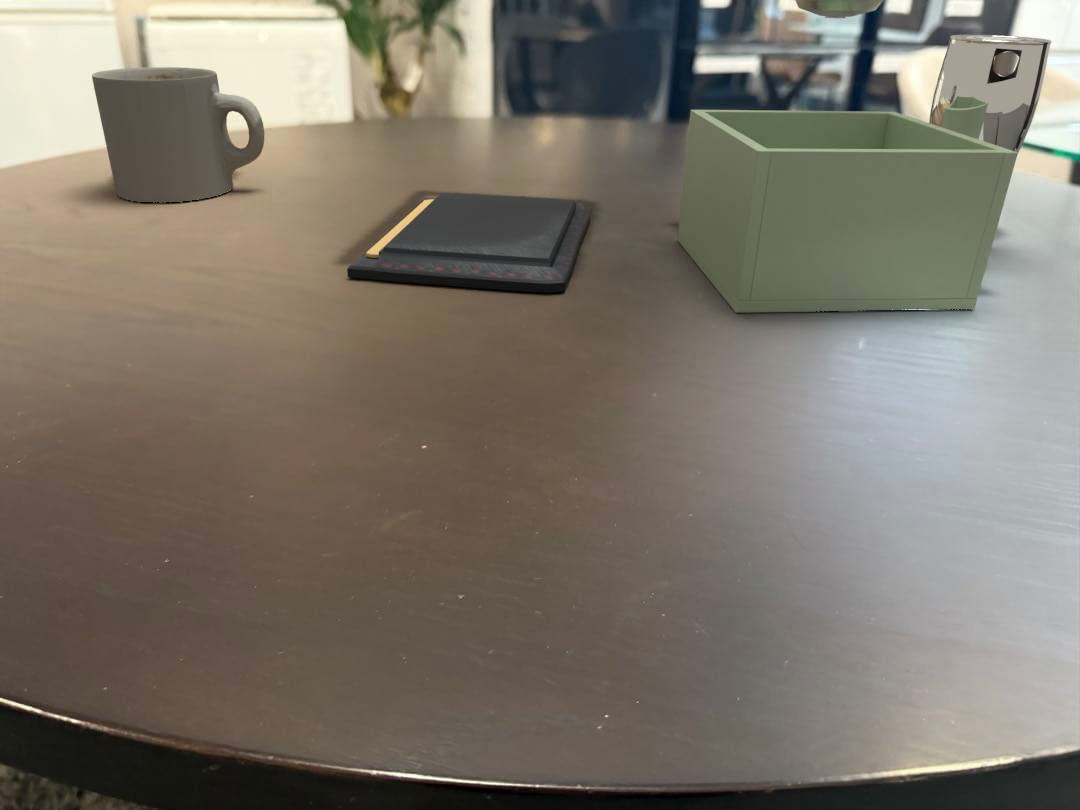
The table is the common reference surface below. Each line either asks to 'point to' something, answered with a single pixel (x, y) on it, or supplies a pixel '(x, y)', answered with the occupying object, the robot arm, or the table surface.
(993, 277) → the table surface
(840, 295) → the bin
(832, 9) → the plastic bottle
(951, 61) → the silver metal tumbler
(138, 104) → the coffee mug
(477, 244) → the wallet
